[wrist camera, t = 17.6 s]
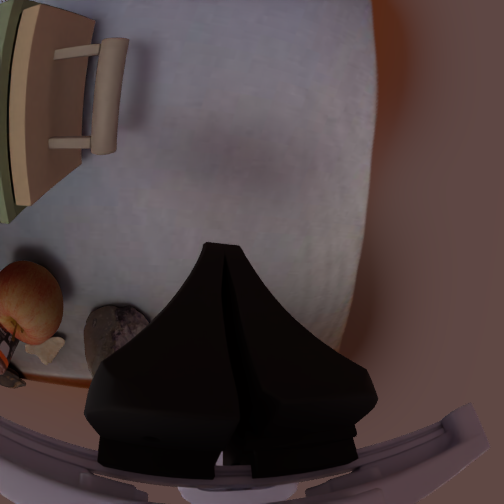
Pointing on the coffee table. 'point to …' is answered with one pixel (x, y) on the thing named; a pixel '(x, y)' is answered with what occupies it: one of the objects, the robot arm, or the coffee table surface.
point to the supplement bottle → (6, 348)
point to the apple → (30, 302)
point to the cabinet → (3, 32)
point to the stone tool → (46, 349)
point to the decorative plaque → (11, 379)
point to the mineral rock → (110, 332)
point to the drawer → (58, 98)
